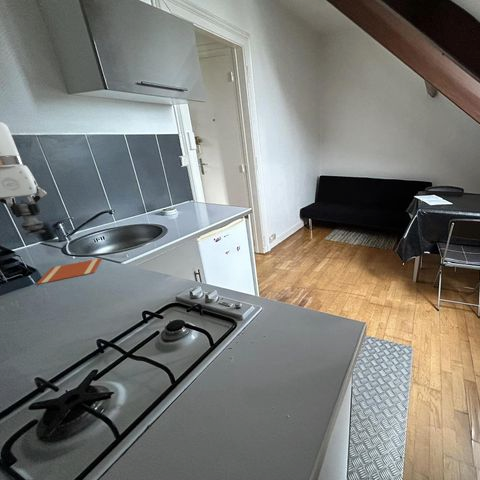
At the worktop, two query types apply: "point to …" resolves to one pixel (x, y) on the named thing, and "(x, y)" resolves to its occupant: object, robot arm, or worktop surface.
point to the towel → (70, 271)
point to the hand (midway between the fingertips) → (28, 215)
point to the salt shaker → (30, 220)
